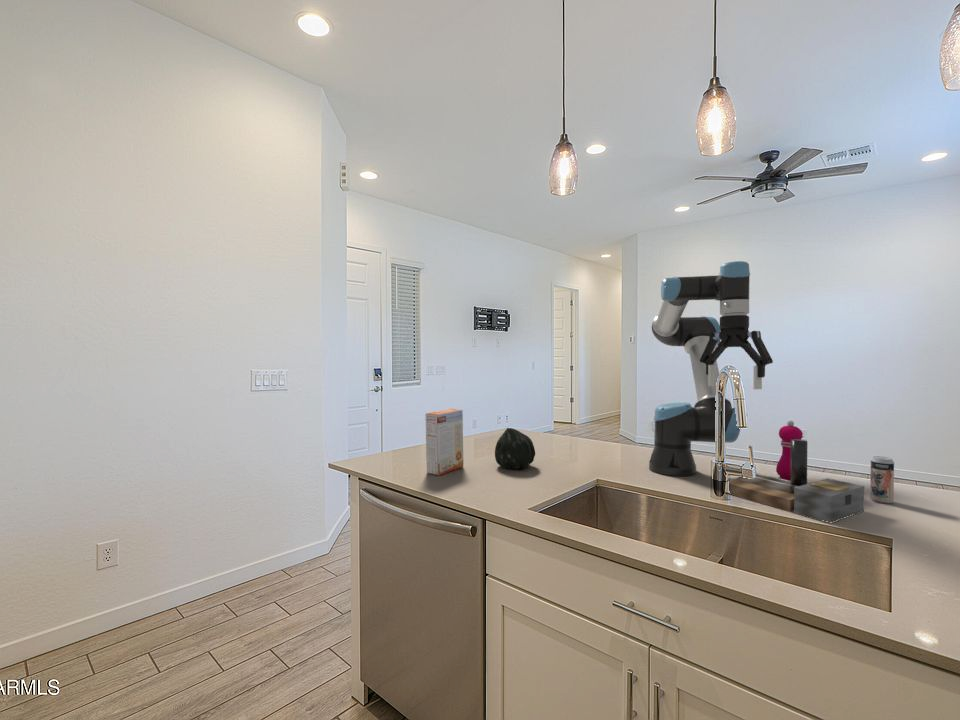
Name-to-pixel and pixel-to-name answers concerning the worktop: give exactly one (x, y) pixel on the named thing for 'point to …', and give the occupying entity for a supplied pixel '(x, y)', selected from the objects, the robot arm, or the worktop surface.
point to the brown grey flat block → (803, 496)
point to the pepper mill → (787, 449)
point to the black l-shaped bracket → (798, 463)
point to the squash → (514, 450)
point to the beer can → (882, 479)
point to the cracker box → (444, 441)
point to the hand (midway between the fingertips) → (733, 387)
